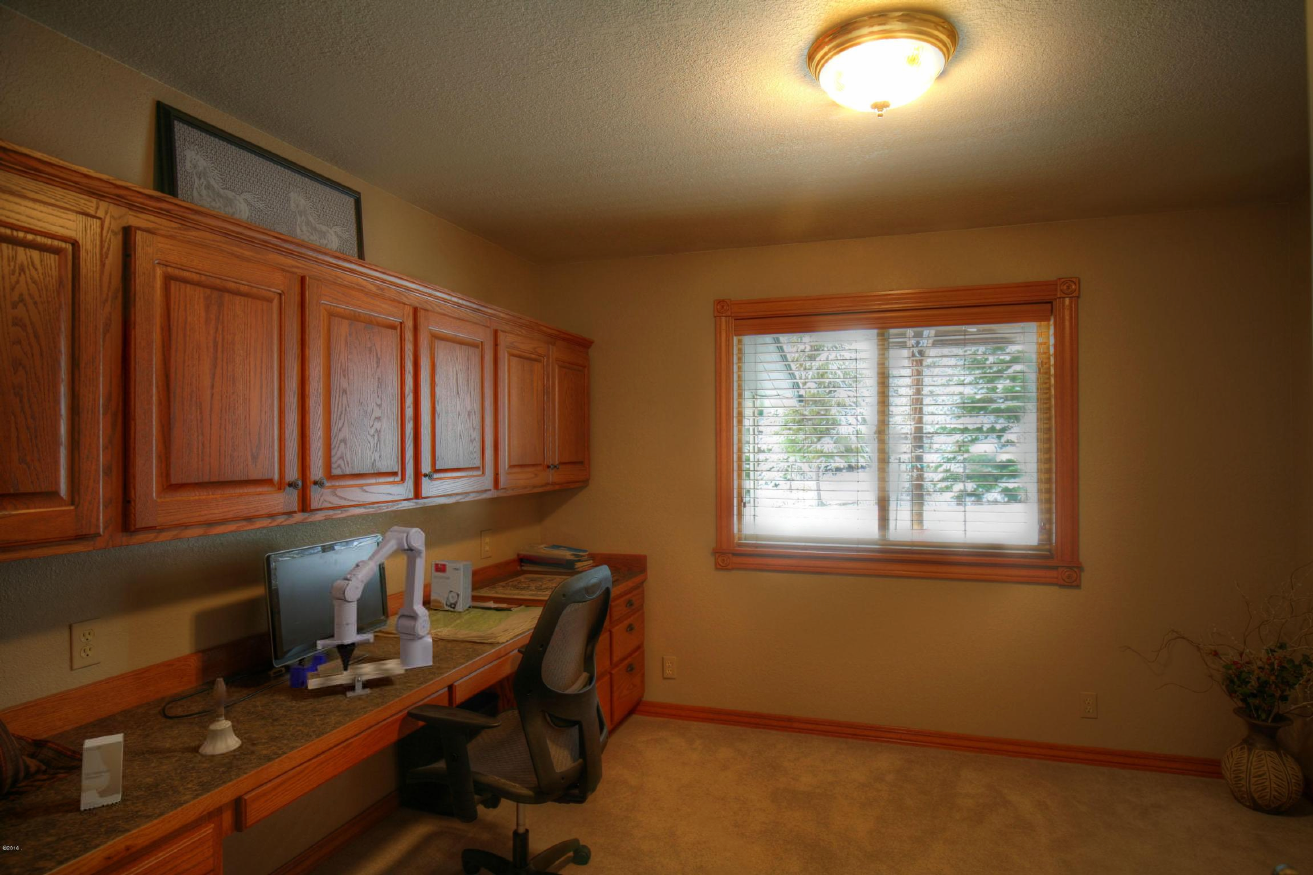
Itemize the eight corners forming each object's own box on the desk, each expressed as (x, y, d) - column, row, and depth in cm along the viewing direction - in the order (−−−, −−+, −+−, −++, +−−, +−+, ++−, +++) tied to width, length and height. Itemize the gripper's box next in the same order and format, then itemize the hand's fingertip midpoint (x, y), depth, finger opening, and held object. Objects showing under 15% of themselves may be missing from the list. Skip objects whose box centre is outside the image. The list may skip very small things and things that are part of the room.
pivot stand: (365, 681, 204) (365, 664, 204) (370, 692, 195) (370, 675, 195) (342, 684, 201) (342, 667, 201) (347, 696, 192) (347, 678, 192)
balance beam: (400, 665, 207) (400, 656, 207) (404, 672, 201) (404, 663, 201) (306, 681, 195) (306, 671, 195) (308, 689, 188) (308, 678, 188)
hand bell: (199, 759, 154) (200, 687, 154) (197, 745, 161) (198, 677, 161) (242, 749, 159) (243, 680, 159) (239, 736, 166) (239, 670, 166)
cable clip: (311, 673, 211) (311, 654, 211) (325, 674, 210) (325, 654, 210) (285, 687, 199) (285, 666, 199) (299, 688, 198) (299, 667, 198)
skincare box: (79, 812, 132) (80, 748, 132) (81, 802, 136) (82, 739, 136) (122, 801, 136) (122, 739, 136) (123, 792, 140) (123, 731, 140)
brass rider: (342, 668, 198) (340, 658, 198) (343, 673, 194) (341, 663, 194) (319, 676, 195) (317, 666, 195) (320, 681, 191) (318, 670, 191)
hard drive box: (429, 610, 289) (430, 562, 289) (440, 605, 296) (441, 559, 296) (461, 613, 284) (461, 564, 284) (472, 608, 291) (472, 561, 291)
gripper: (318, 629, 189) (318, 678, 189) (375, 622, 197) (374, 670, 197) (316, 623, 195) (316, 671, 195) (371, 616, 203) (371, 663, 203)
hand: (345, 670), depth 196 cm, fingers closed
